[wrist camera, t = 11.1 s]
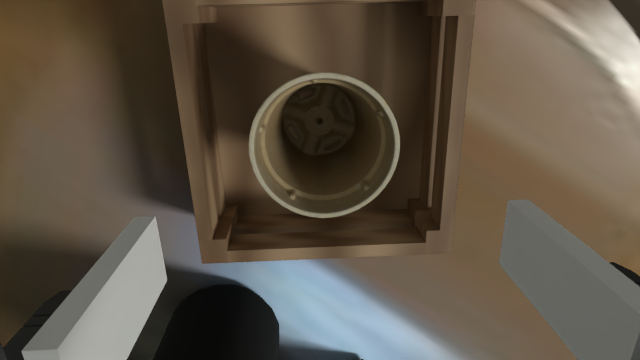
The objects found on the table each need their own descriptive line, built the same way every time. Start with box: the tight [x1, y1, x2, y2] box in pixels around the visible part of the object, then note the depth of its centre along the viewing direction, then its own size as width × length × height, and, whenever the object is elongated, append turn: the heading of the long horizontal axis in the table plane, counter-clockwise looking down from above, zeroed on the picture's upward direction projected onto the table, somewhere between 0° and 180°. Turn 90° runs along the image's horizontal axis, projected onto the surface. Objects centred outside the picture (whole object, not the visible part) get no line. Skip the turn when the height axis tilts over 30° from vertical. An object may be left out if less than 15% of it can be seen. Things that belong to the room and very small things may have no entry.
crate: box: [162, 0, 476, 264], centre depth 32 cm, size 19×19×7 cm
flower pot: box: [249, 72, 400, 218], centre depth 30 cm, size 9×9×9 cm
